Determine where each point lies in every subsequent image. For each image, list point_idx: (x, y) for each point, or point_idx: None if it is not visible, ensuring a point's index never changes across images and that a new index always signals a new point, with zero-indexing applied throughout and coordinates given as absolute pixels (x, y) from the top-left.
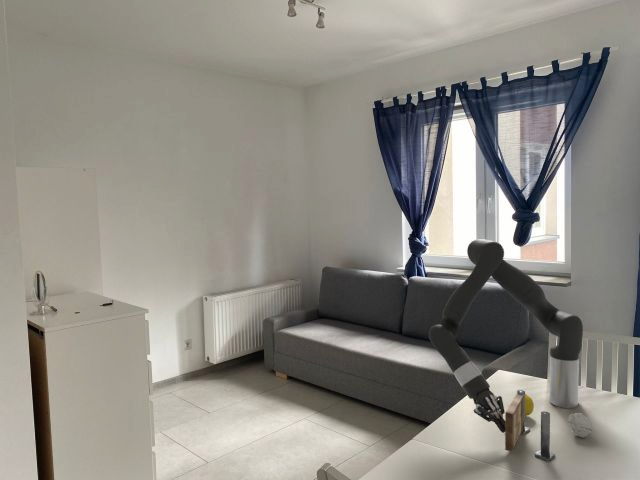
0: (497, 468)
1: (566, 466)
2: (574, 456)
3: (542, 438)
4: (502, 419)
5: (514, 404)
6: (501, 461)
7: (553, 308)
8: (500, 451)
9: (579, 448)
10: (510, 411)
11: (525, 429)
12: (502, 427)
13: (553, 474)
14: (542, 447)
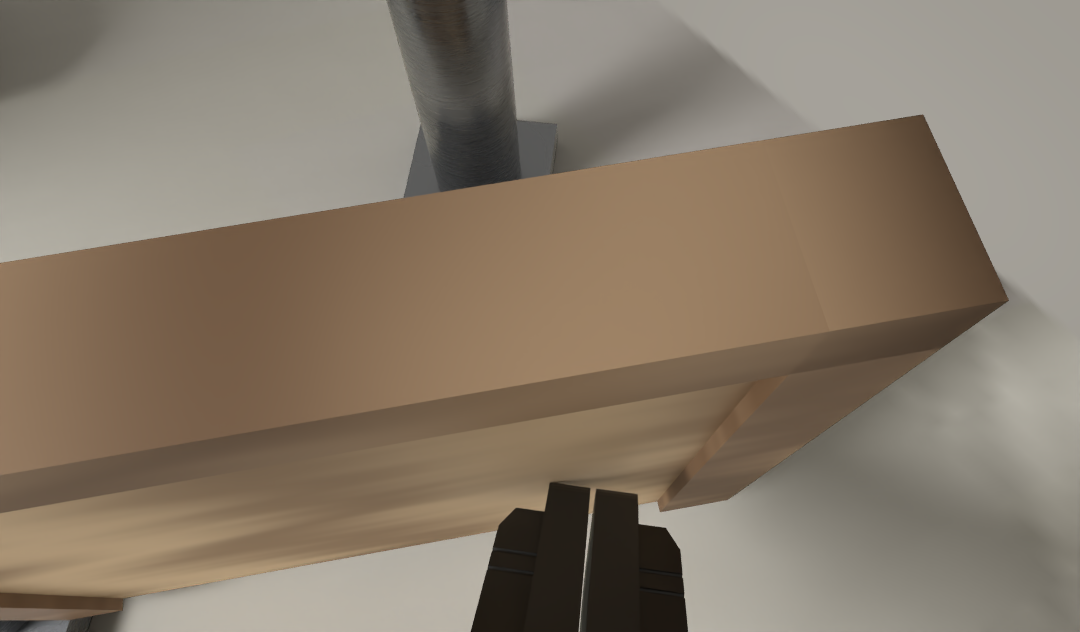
0: (1059, 447)
1: (532, 28)
2: (324, 28)
3: (507, 63)
4: (559, 614)
5: (204, 319)
6: (897, 473)
7: None
8: (704, 576)
9: (156, 36)
10: (803, 218)
11: None
12: (678, 559)
13: (729, 58)
14: (515, 136)
